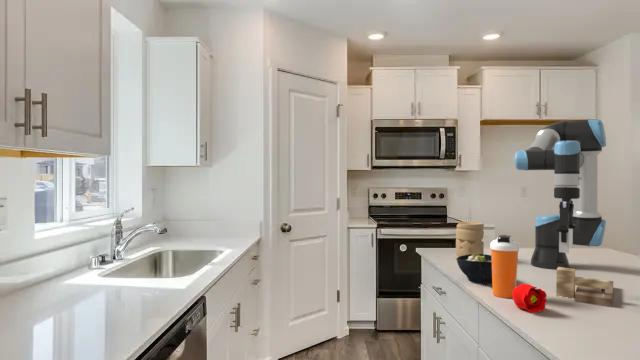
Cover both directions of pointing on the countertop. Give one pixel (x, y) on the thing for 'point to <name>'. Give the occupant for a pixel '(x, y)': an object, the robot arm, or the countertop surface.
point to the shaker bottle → (504, 265)
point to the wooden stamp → (575, 282)
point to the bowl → (476, 267)
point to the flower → (529, 298)
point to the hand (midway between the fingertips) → (566, 249)
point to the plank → (594, 295)
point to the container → (469, 238)
